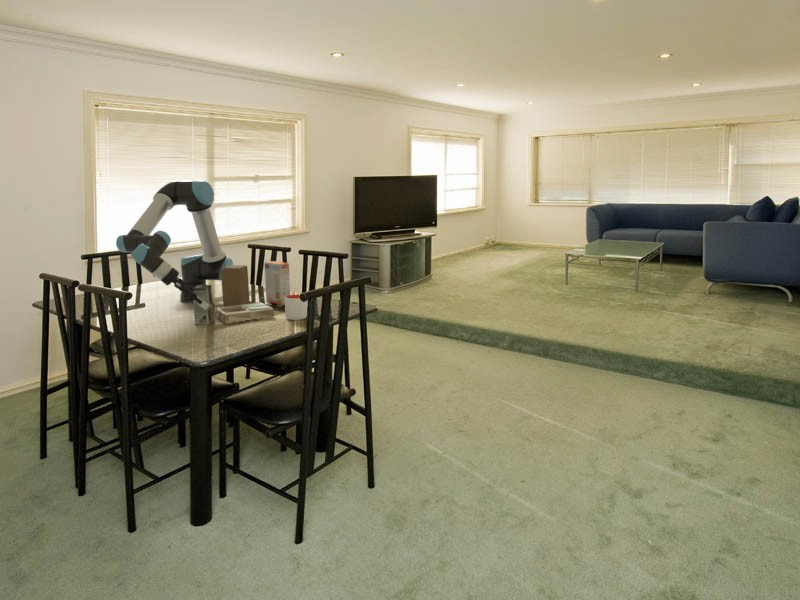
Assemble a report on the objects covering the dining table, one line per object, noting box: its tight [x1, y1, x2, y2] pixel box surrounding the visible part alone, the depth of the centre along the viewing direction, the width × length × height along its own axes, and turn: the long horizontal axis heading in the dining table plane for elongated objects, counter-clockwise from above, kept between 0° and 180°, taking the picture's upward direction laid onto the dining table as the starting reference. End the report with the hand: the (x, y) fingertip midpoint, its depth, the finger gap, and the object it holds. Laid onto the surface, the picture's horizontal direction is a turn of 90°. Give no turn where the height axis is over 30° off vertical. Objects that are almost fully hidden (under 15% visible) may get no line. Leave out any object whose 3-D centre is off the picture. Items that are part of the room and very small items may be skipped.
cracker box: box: [264, 260, 291, 306], centre depth 295 cm, size 14×6×21 cm, turn 45°
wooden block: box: [220, 264, 251, 307], centre depth 289 cm, size 10×10×20 cm
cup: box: [284, 293, 308, 321], centre depth 264 cm, size 10×10×10 cm
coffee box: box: [192, 284, 215, 325], centre depth 258 cm, size 9×6×16 cm
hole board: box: [214, 301, 275, 324], centre depth 268 cm, size 17×22×4 cm
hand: (205, 304), depth 258 cm, fingers open, 13 cm apart
